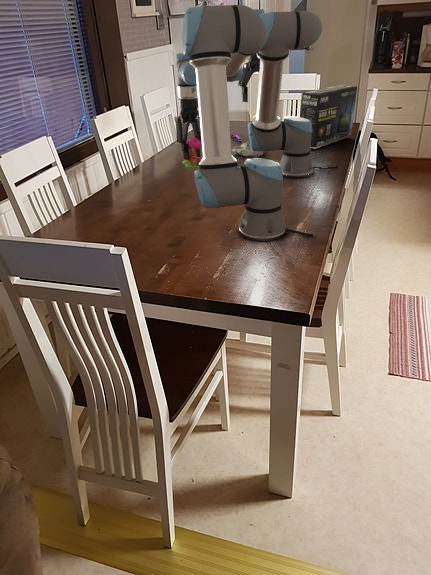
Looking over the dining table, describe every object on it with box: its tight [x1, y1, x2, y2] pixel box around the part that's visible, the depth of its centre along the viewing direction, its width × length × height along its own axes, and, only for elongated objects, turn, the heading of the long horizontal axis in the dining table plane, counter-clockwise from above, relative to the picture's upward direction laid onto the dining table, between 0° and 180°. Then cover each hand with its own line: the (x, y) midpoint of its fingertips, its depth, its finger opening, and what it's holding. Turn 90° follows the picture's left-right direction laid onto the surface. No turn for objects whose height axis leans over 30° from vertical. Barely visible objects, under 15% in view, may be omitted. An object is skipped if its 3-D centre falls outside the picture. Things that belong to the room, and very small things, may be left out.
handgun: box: [230, 131, 243, 143], centre depth 259 cm, size 21×8×2 cm, turn 11°
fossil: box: [231, 138, 266, 158], centre depth 230 cm, size 18×11×15 cm
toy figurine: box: [181, 137, 202, 169], centre depth 188 cm, size 12×9×11 cm
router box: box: [299, 84, 358, 151], centre depth 238 cm, size 36×11×27 cm, turn 134°
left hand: (192, 157), depth 189 cm, fingers closed on toy figurine, 5 cm apart
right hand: (255, 99), depth 216 cm, fingers open, 13 cm apart
